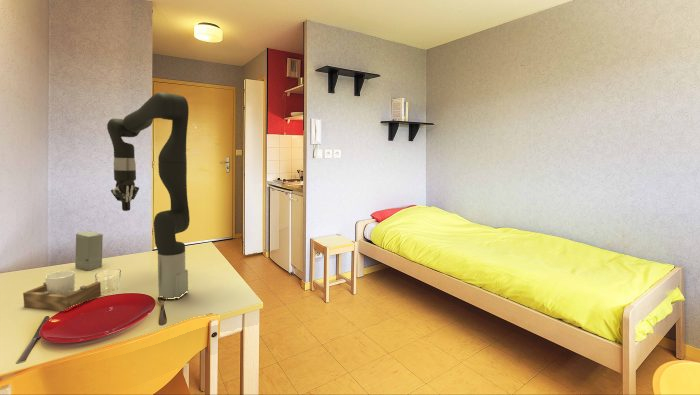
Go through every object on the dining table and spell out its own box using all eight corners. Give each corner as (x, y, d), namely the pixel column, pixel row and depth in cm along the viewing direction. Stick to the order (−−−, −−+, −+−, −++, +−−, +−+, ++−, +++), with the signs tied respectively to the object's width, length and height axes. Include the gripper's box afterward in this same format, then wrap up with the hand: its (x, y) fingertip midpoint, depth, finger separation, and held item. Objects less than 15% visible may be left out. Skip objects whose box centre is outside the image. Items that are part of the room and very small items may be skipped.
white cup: (43, 302, 119) (40, 275, 117) (69, 294, 126) (68, 268, 124) (53, 308, 115) (51, 280, 114) (80, 299, 122) (79, 273, 121)
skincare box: (74, 268, 151) (72, 233, 149) (91, 263, 157) (89, 230, 155) (88, 271, 148) (86, 236, 146) (104, 266, 155) (103, 232, 153)
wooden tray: (101, 294, 127) (100, 280, 126) (66, 311, 113) (65, 295, 113) (62, 290, 129) (61, 276, 128) (24, 306, 115) (22, 290, 114)
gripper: (120, 170, 131) (122, 214, 134) (144, 168, 144) (146, 208, 147) (103, 169, 132) (105, 212, 134) (128, 167, 145) (130, 207, 147)
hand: (126, 210), depth 140 cm, fingers closed
